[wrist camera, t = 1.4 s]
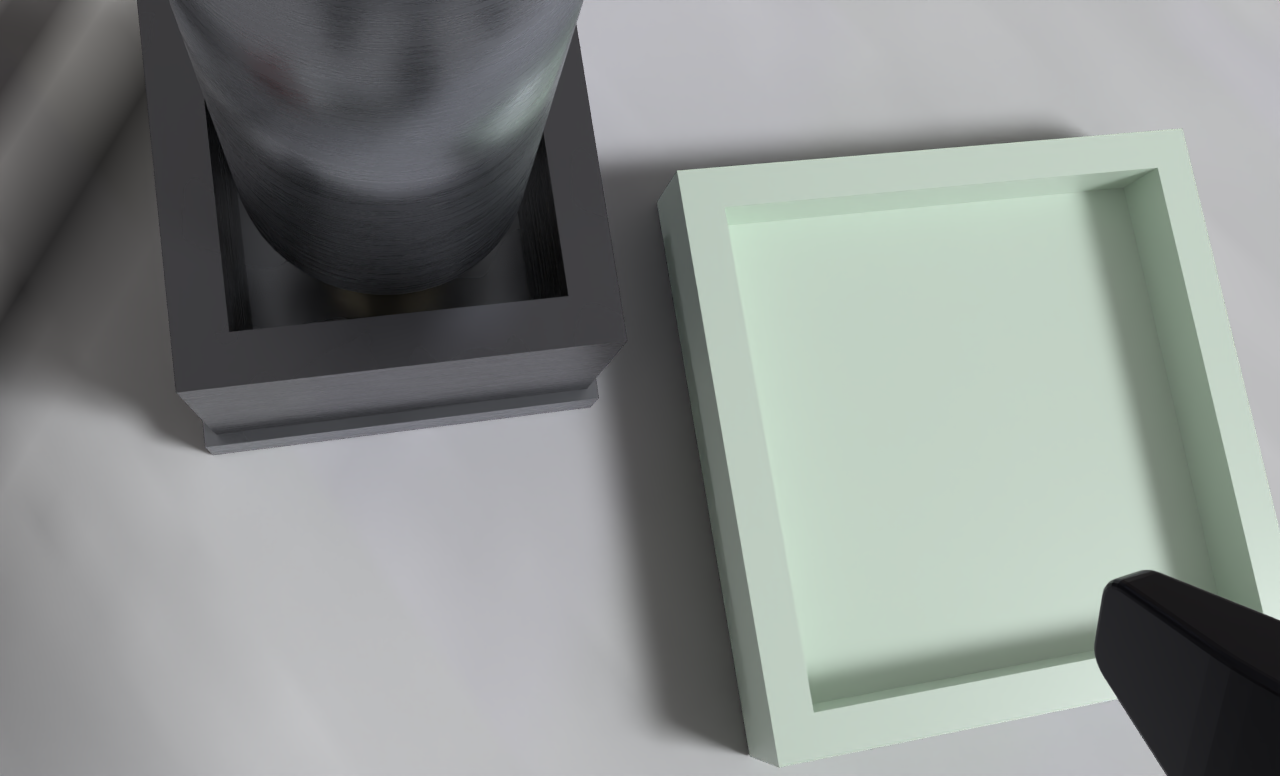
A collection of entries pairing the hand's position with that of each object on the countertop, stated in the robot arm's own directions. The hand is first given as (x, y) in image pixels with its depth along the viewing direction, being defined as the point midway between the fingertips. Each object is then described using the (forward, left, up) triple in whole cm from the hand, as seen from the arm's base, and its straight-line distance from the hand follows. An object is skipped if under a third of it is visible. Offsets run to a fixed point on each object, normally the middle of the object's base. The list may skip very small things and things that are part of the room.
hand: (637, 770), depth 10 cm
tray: (+3, -10, -13) cm, 17 cm away
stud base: (+8, +1, -13) cm, 15 cm away
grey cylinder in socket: (+8, +1, -12) cm, 14 cm away
